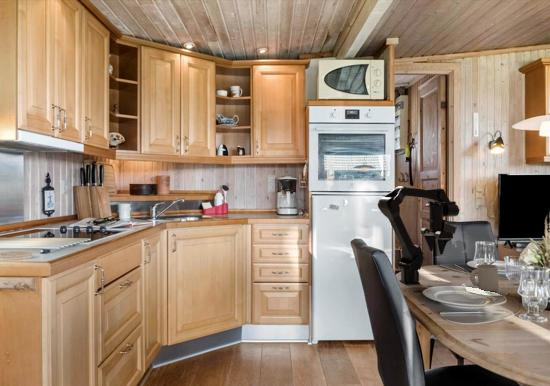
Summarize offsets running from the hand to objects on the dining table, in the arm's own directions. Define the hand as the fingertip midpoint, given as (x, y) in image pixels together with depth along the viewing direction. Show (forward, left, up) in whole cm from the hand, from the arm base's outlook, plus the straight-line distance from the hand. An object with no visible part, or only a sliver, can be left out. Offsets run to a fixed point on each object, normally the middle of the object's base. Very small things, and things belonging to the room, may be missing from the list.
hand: (436, 252), depth 180 cm
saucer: (+9, -21, -13) cm, 26 cm away
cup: (+9, -21, -11) cm, 25 cm away
